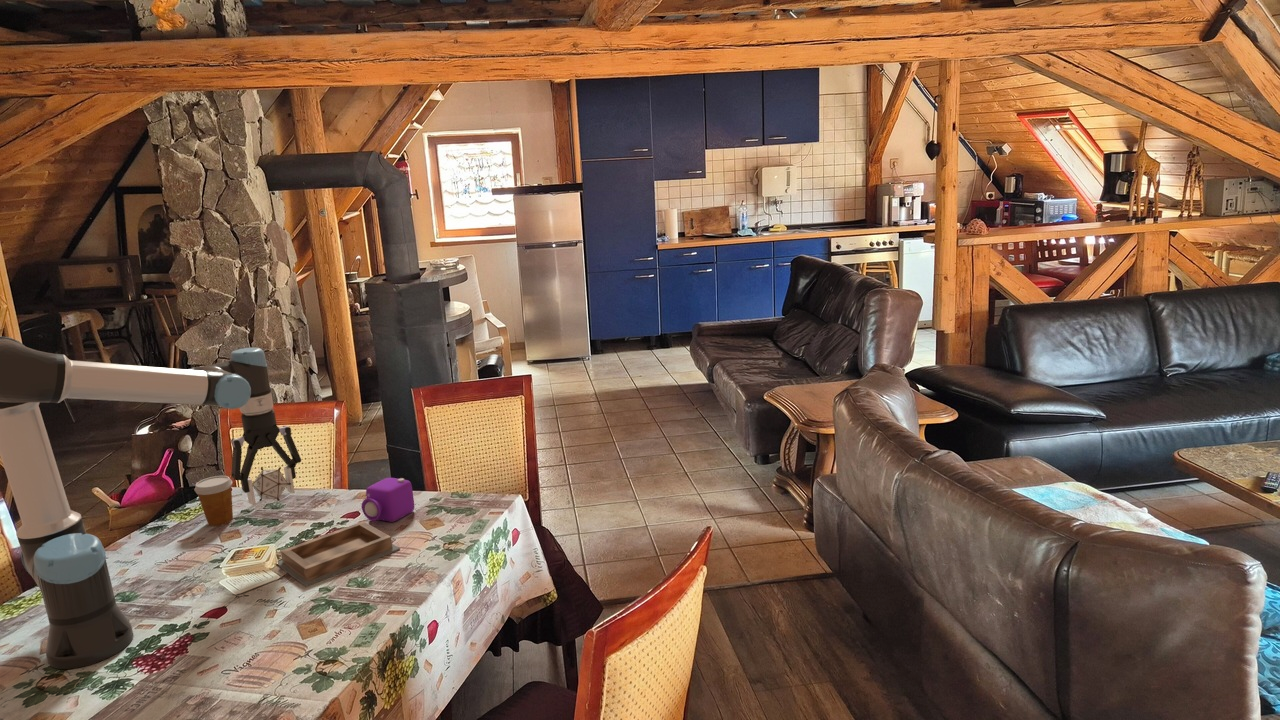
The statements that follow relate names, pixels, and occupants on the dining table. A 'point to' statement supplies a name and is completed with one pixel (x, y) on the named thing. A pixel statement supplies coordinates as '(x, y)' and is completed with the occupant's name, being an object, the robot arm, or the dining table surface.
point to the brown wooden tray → (336, 550)
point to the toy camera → (388, 500)
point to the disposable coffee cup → (216, 499)
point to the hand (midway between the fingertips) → (272, 497)
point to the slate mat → (307, 583)
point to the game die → (270, 484)
